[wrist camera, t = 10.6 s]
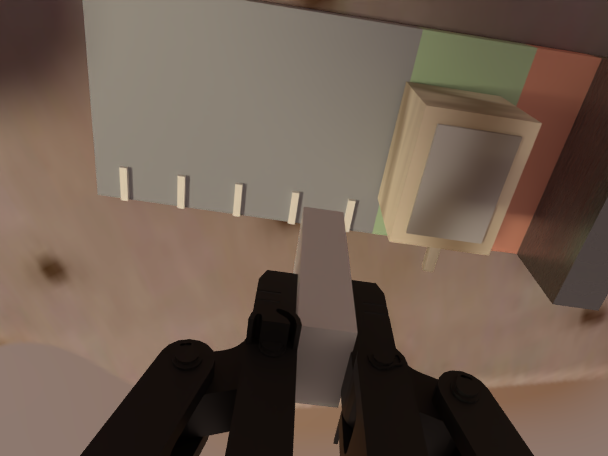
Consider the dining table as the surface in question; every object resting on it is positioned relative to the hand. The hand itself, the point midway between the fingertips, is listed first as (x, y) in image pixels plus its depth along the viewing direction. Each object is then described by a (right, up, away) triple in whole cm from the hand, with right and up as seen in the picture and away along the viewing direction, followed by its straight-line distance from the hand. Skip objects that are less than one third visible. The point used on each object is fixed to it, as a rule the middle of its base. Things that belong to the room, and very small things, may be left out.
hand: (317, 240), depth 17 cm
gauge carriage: (+8, +5, +13) cm, 16 cm away
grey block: (+18, +5, +15) cm, 24 cm away
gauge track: (+1, +8, +15) cm, 16 cm away
